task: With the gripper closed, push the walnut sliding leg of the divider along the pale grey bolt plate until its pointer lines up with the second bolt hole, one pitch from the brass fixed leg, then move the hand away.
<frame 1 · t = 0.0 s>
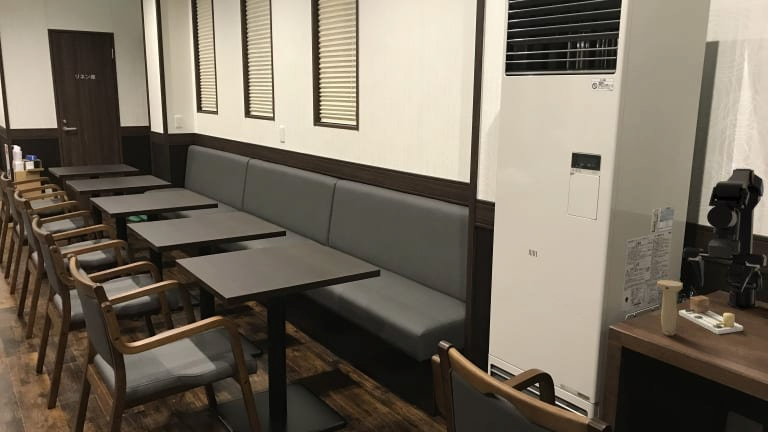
hand: (720, 289, 160), 15 cm above the table, tool pointing down, fingers open, 9 cm apart
handle: (668, 334, 172), on the table
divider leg: (695, 304, 183), point 3 cm above the table, slide at 0.0 cm
bolt plate: (709, 322, 178), on the table
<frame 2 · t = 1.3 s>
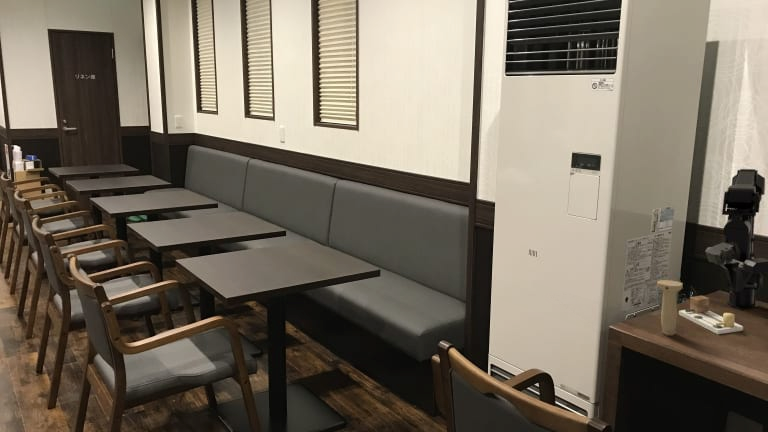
hand: (736, 289, 166), 13 cm above the table, tool pointing down, fingers closed
nothing on the table moved.
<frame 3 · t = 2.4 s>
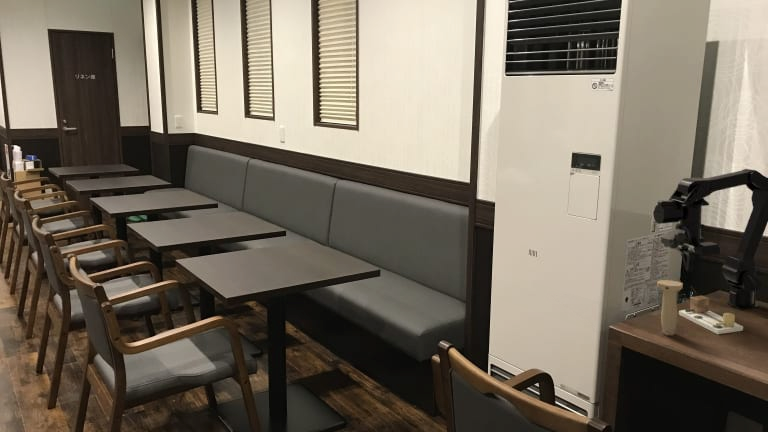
hand: (688, 270, 185), 13 cm above the table, tool pointing down, fingers closed
nothing on the table moved.
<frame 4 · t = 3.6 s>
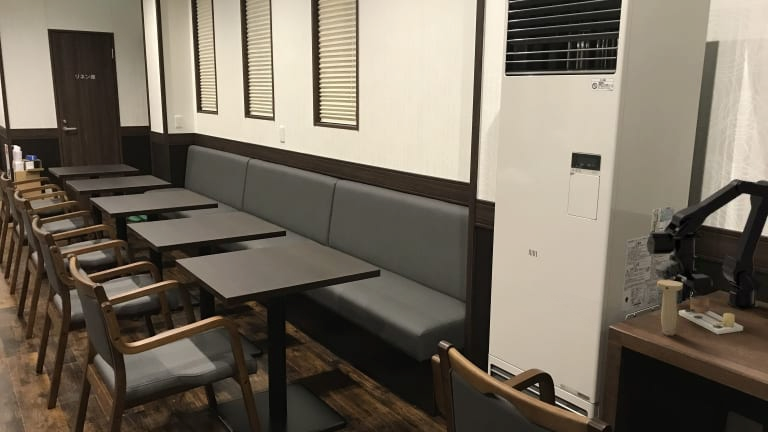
hand: (682, 301, 189), 2 cm above the table, tool pointing down, fingers closed
nothing on the table moved.
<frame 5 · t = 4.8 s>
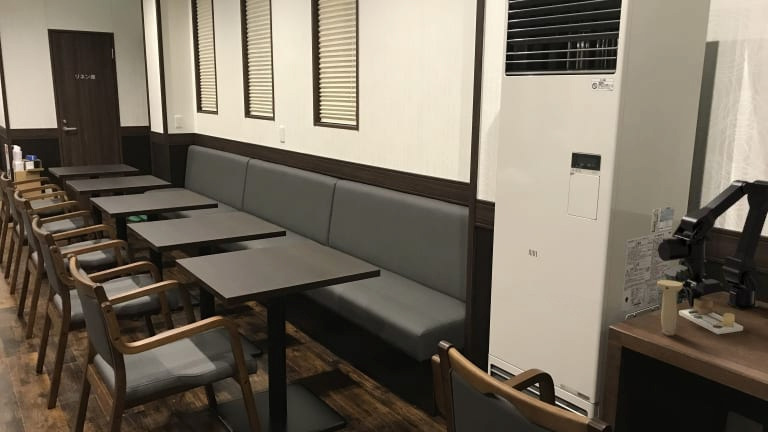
hand: (691, 306, 185), 2 cm above the table, tool pointing down, fingers closed
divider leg: (699, 306, 181), point 3 cm above the table, slide at 1.5 cm, touching gripper
everything else where it was.
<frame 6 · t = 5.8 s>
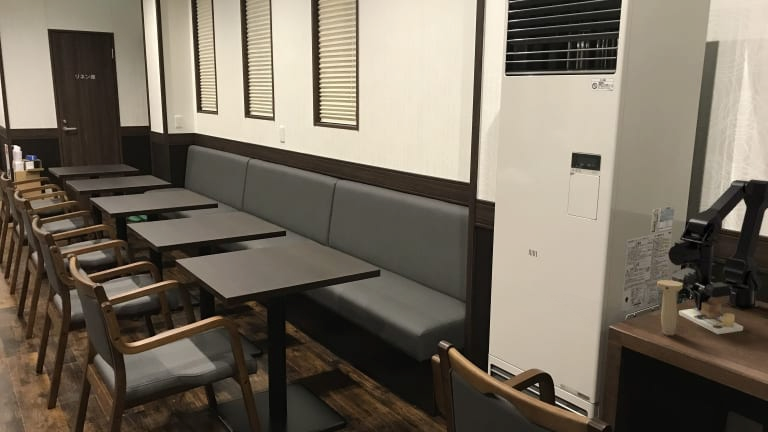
hand: (699, 310, 182), 2 cm above the table, tool pointing down, fingers closed
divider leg: (707, 310, 178), point 3 cm above the table, slide at 4.9 cm, touching gripper
everything else where it was.
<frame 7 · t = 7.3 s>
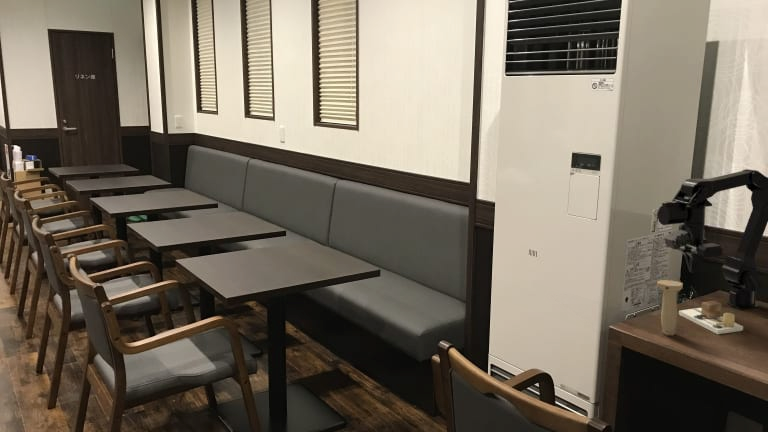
hand: (691, 272, 183), 13 cm above the table, tool pointing down, fingers closed
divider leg: (707, 310, 178), point 3 cm above the table, slide at 4.9 cm
everything else where it was.
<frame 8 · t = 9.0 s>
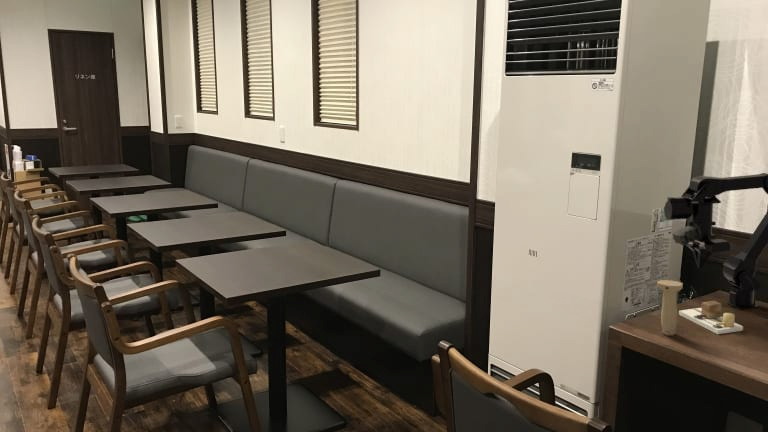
hand: (699, 267, 187), 13 cm above the table, tool pointing down, fingers closed
nothing on the table moved.
at the end: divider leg slide at 4.9 cm; handle moved 0.2 cm from its start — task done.
